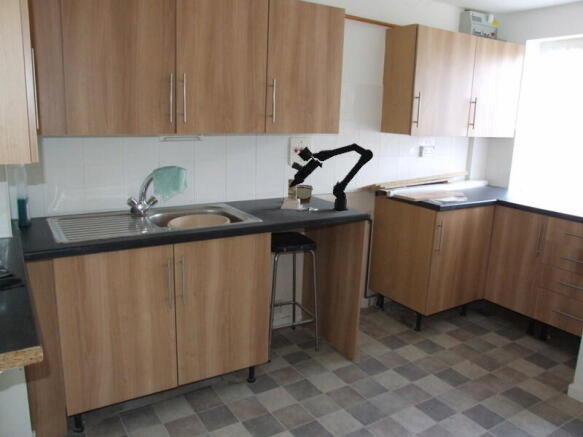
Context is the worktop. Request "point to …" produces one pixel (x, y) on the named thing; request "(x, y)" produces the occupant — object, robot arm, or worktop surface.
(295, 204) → the well
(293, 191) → the wooden post
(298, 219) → the worktop surface
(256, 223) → the worktop surface
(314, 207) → the worktop surface
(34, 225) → the worktop surface
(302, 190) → the food container
